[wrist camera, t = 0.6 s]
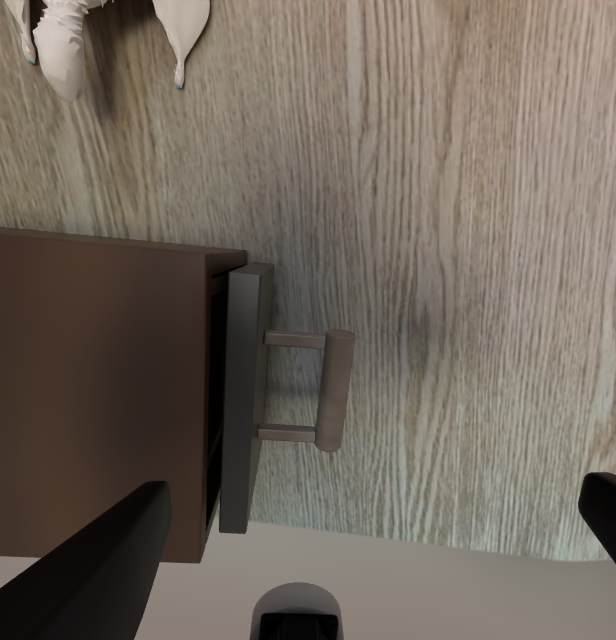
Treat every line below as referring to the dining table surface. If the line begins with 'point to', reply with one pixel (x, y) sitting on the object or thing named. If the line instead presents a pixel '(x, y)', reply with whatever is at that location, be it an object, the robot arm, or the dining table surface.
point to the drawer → (261, 385)
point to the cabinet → (104, 384)
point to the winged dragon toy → (67, 44)
